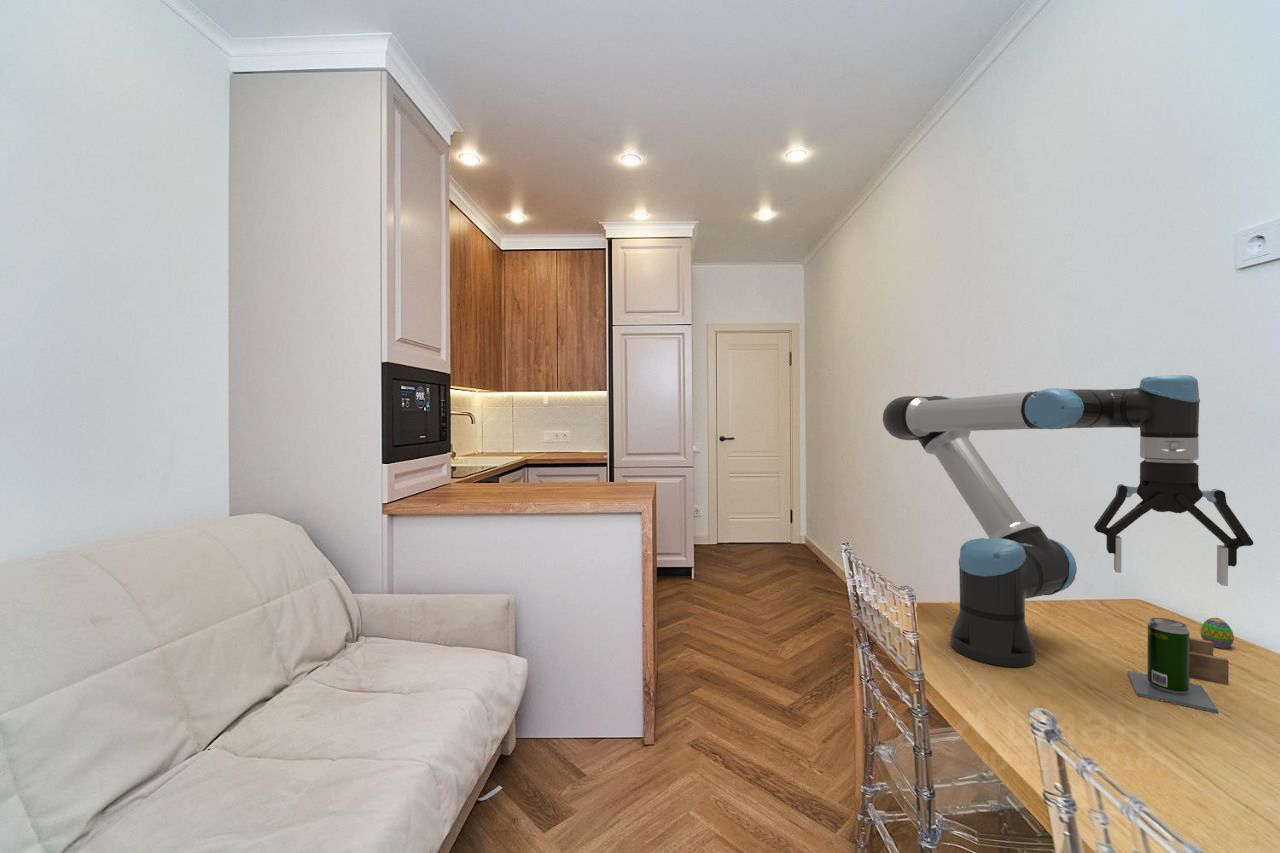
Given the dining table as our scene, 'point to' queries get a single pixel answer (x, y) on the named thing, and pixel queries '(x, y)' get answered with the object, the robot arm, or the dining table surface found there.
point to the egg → (1217, 633)
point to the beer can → (1168, 655)
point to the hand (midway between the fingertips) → (1167, 577)
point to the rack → (1206, 662)
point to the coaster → (1192, 698)
